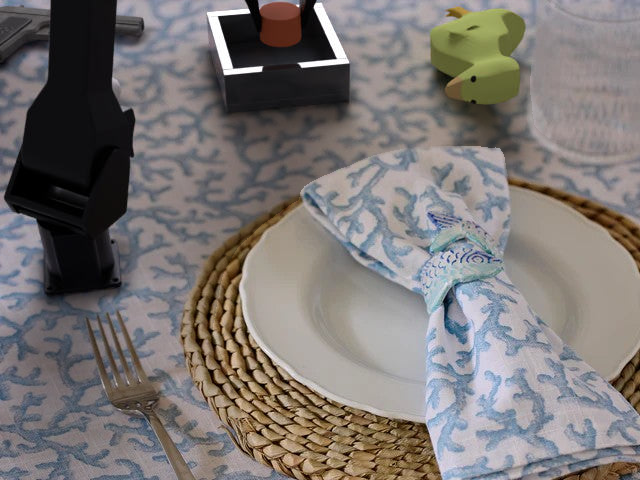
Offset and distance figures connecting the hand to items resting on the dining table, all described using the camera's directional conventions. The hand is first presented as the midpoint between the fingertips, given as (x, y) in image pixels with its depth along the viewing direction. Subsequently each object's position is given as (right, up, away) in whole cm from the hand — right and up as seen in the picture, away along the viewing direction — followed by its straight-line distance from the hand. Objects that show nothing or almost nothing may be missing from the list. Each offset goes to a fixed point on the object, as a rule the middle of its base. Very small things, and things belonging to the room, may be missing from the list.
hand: (280, 29), depth 108 cm
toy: (+18, +5, +13) cm, 22 cm away
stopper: (0, -1, +1) cm, 1 cm away
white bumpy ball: (-19, -7, +3) cm, 20 cm away
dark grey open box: (-1, -3, +8) cm, 8 cm away
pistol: (-28, -1, +7) cm, 29 cm away
